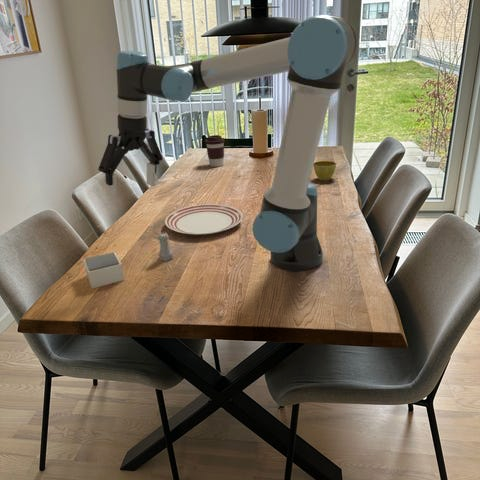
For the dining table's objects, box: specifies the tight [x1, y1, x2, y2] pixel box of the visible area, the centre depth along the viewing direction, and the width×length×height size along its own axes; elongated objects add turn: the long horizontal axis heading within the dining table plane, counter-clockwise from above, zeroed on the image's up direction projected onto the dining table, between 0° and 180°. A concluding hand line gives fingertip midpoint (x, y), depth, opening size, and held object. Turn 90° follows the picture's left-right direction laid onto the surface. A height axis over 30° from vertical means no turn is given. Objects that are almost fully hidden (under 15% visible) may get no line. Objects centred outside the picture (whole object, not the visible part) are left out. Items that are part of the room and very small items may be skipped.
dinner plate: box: [164, 203, 243, 236], centre depth 164 cm, size 28×27×3 cm
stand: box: [83, 252, 125, 289], centre depth 131 cm, size 9×9×5 cm
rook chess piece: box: [157, 232, 174, 262], centre depth 140 cm, size 4×4×8 cm
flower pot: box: [313, 160, 337, 182], centre depth 205 cm, size 10×10×7 cm
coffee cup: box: [204, 134, 225, 168], centre depth 237 cm, size 10×10×15 cm
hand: (132, 190), depth 131 cm, fingers open, 13 cm apart
